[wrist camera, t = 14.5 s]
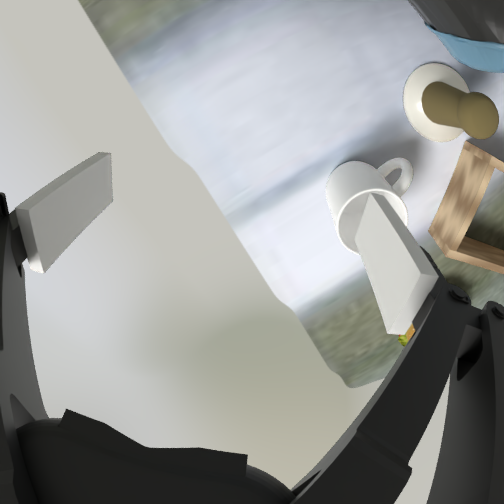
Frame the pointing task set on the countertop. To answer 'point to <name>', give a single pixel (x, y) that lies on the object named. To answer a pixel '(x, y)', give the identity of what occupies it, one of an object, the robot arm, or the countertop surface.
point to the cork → (460, 109)
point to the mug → (364, 194)
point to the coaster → (414, 105)
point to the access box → (467, 210)
